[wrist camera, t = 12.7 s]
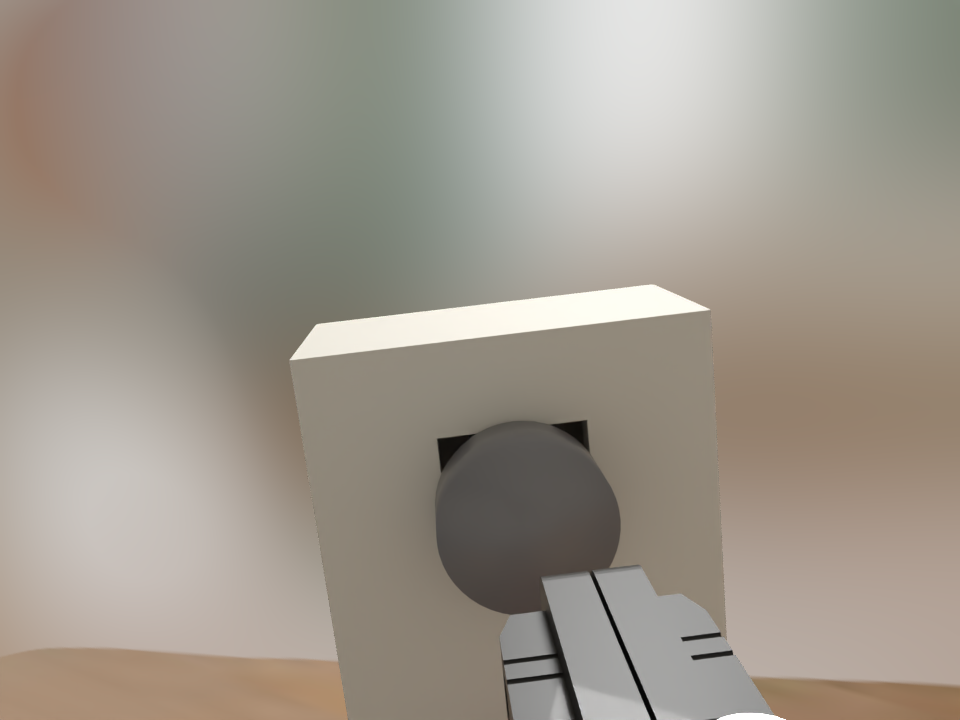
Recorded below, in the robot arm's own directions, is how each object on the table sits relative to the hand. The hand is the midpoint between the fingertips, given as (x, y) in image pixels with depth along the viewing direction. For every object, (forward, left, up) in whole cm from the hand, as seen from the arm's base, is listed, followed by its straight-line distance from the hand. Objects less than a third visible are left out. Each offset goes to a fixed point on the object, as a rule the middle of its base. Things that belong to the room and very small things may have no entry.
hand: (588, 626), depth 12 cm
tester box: (-10, +10, -20) cm, 25 cm away
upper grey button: (-9, +9, -5) cm, 14 cm away
